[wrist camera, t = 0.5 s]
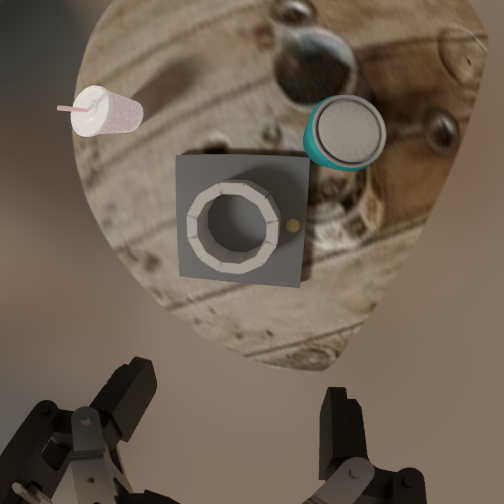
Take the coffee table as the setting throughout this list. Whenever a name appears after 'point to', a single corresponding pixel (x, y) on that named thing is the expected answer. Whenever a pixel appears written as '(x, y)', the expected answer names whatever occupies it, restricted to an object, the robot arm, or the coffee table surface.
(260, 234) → the mount plate
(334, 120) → the beverage can
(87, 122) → the beverage cup
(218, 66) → the coffee table surface
